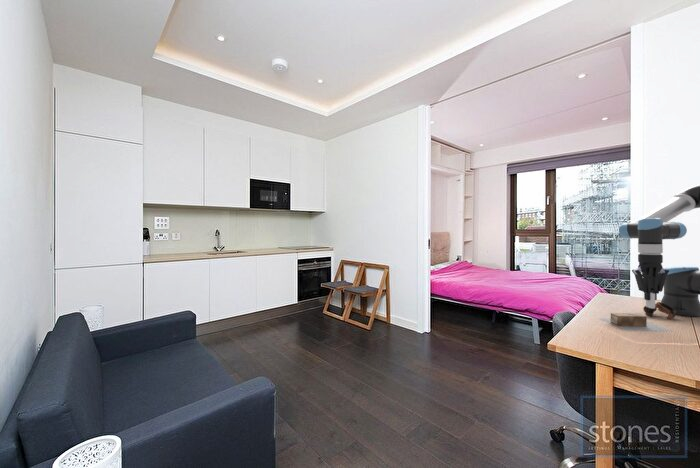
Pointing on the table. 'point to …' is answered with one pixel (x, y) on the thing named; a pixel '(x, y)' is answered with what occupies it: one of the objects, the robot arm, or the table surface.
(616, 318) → the walnut block
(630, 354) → the table surface
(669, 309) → the brown curved arch
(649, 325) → the mat
